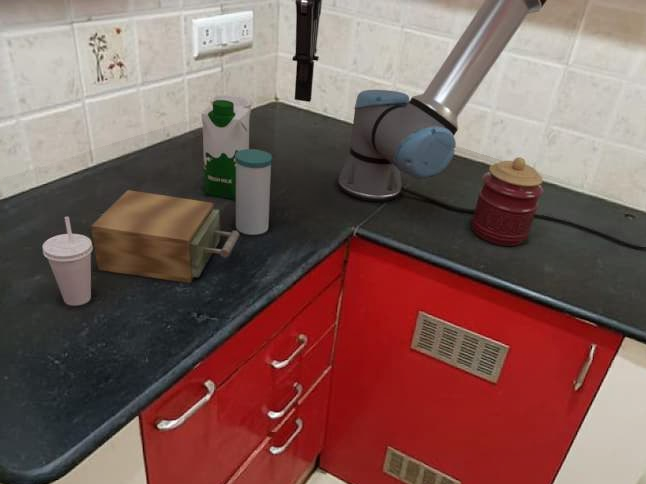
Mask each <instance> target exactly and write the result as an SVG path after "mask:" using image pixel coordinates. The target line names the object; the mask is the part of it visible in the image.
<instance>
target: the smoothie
mask: <svg viewBox="0 0 646 484" xmlns="http://www.w3.org/2000/svg"><path fill="white" fill-rule="evenodd" d="M64 223H65V228H66V233H62V234H58V235H55V236H52V237H50V238H48V239H47V240H45V241H44V242H43V244H42V255H43V256H44V257H45V258H46V259H47V261H48V263H49V266H50V268H51V271H52V274H53V276H54V279H55V281H56V284H57V286H58V289H59V291H60V294H61V297H62V299H63V302H64V303H65V304H66V305H68V306H72V307H73V306H74V307H75V306H82V305H85V304H87V303H88V302H90V300H91V299H92V257H91V256H92V254H91V253H92V251H93V249H94V247H93V246H94V245H93V243H92V239H91V238H89V237H88V236H86V235H84V234H80V233H73V232H72V226H71V222H70V216H64Z"/></svg>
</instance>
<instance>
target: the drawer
mask: <svg viewBox="0 0 646 484" xmlns="http://www.w3.org/2000/svg"><path fill="white" fill-rule="evenodd" d="M220 223H221V222H220V209H215V208H214V209H213V210H212V211H211V213H210V214H209V216H208V217H207V219H206V220H205V222H203V224H202V225H201V227H200V228H199V230H198V231H197V233H196V234H195V236H194V237H193V239H192V240H191V242H190V258H191V276H192V277H194V278H199V277H200V275H202V272H203V270H204V269H205V267H206V265H207V264H208V262H209V261H210V259H211V257H212V255H213V254H217V255H220V256H221V257H222V258H223V259H226V258H229V257H230V255H231V253H232V251H233V249H234V247H235V245H236V243H237V241H238V239H239V238H240V231H238V230H237V229H236V230H231V232H229V231H223V230H221V229H220ZM221 237H227V239H226V241H225V243H224V245H223V246H222V248H221V249H220V248H217V246H218V245H219V244H220V241H221V239H220V238H221Z"/></svg>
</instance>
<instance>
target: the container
mask: <svg viewBox="0 0 646 484" xmlns="http://www.w3.org/2000/svg"><path fill="white" fill-rule="evenodd" d="M235 161H236V200H235V229H236V231H238V232H239V233H241V234H243V235H251V236H256V235H257V236H258V235H262V234H265V233H266V232H268V230H269V226H270V225H269V222H270V200H271V199H270V198H271V176H272V163H273V155H272V154H271V153H270V152H268V151H265V150H261V149H256V148H249V149H244V150H240V151H238V152H237V153H236V154H235Z"/></svg>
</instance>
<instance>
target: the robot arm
mask: <svg viewBox="0 0 646 484" xmlns="http://www.w3.org/2000/svg"><path fill="white" fill-rule="evenodd" d="M547 1H548V0H484V1H483V3H482V4H481V5H480V7H479V9H478V10H477V12H476V13H475V14H474V16H473V18H471V19H472V20H471V21H470V22H469V24H468V25H467V27H466V29H465V30H464V31H463V33H462V34H461V36H460V37H459V40H458V41H457V42H456V43H455V45H454V47H453V48H452V49H451V51H450V53H449V54H448V55H447V57H446V58H445V60H444V61H443V63H442V65H441V66H440V68H439V69H438V71H437V72H436V74H435V76H434V77H433V78H432V79H431V81H430V83H429V84H428V86H427V88H426V89H425V91H424V92H423V93H421V94H418V95H413V96H411V98H410V96H409V95H408V94H406V93H404V92H401V91H395V90H389V89H388V90H387V89H366V90H362V91H360V92H358V94H357V96H356V99H355V105H354V108H353V109H354V114H353V121H352V131H351V138H350V139H351V140H350V148H349V155H348V156H347V159H346V161H345V163H344V165H343V167H342V169H341V171H340V173H339V176H338V188H339V189H340V190H341V192H343V193H344V194H346V195H347V196H349V197H352V198H353V199H357V200H361V201H365V202H372V203H384V202H385V203H386V202H390V201H393V200H396V199H397V198H399V197H400V196H401V194H402V192H404V193H407V194H410V195H412V196H416V197H418V198H421V199H423V200H426V201H429V202H431V203H433V204H437V205H439V206H441V207H444V208H447V209H450V210H453V211H457V212H463V213H469V214H474V212H475V208H465V207H459V206H456V205H453V204H449V203H446V202H444V201H441V200H439V199H436V198H433V197H431V196H429V195H425V194H423V193H420V192H417V191H414V190H413V189H409V188H406V187H404V186H403V184H402V183H403V182H402V176H401V172H402V173H404V174H407V175H409V176H410V177H412V178H415V179H419V180H420V179H422V180H424V179H427V178H430V177H435V176H436V175H438V174H440V173H441V172H442V171H443V170H445V169H446V168H447V167H448V166H449V165H450V163H451V161H452V160H453V157H454V155H455V152H456V150H455V148H456V146H457V145H456V143H457V142H456V139H455V135H456V133H457V132H458V131H459V123H458V118H459V116H460V115H461V113H462V111H463V110H464V109H465V107H466V106H467V105H468V103H469V101H470V100H471V98H472V97H474V94H475V93H476V92H477V90H478V89H479V87H480V86H481V84H482V82H483V81H484V80H485V78H486V77H487V75H488V74H489V72H490V71H491V69H492V68H493V66H494V65H495V64H496V62H497V60H498V59H499V58H500V56H501V55H502V53H503V51H505V49H506V47H507V45H508V44H509V42H510V41H511V40H512V39H513V37H514V36H515V35H516V32H517V31H518V30H519V28H520V27H521V25H522V24H523V22H524V21H525V19H526V18H527V16H528V15H531V14H534V13H538V12H540V11H541V9H542V8H543V6H544V5H545V4H546V3H547ZM294 2H295V13H296V15H295V54H294V55H293V56H292V58H291V59H292V61H293V62H296V69H295V70H296V71H295V86H294V100H295V101H299V102H300V101H301V102H306V103H310V102H311V101H312V93H313V81H314V69H315V68H314V67H315V61H316V62H318V61H319V58H320V56H318V55H317V52H318V49H317V45H318V36H319V25H320V17H321V15H322V4H323V3H322V2H323V0H295V1H294ZM538 214H539V213H537V214H535V215H534V218H538V219H539V218H540V219H545V220H550V221H553V222H559V223H562V224H566V225H569V226H572V227H575V228H578V229H582V230H584V231H587V232H590V233H593V234H595V235H598V236H601V237H604V238H606V239H609V240H611V241H613V242H616V243H618V244H621V245H624V246H627V247H630V248H633V249H639V250H646V247H641V246H637V245H638V244H637V245H633V244H634V243H633V244H630V243H631V242H629V243H627V242H628V241H626V242H624V241H625V240H623V241H621V240H622V239H621V240H619V239H620V238H618V239H616V238H617V237H616V238H614V237H615V236H614V237H611V236H612V235H611V236H609V235H610V234H609V235H607V234H608V233H606V234H604V233H605V232H604V233H601V232H602V231H601V232H599V231H600V230H598V231H596V230H597V229H595V230H593V229H594V228H592V227H590V228H592V229H590V228H587V227H588V226H587V227H584V226H585V225H584V226H581V225H582V224H581V225H578V224H579V223H578V224H575V223H576V222H575V223H572V222H573V221H571V220H568V221H565V220H566V219H564V220H561V219H562V218H561V219H557V218H558V217H557V218H553V217H554V216H552V217H549V216H550V215H548V216H544V215H545V214H543V215H538ZM569 221H571V222H569Z"/></svg>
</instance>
